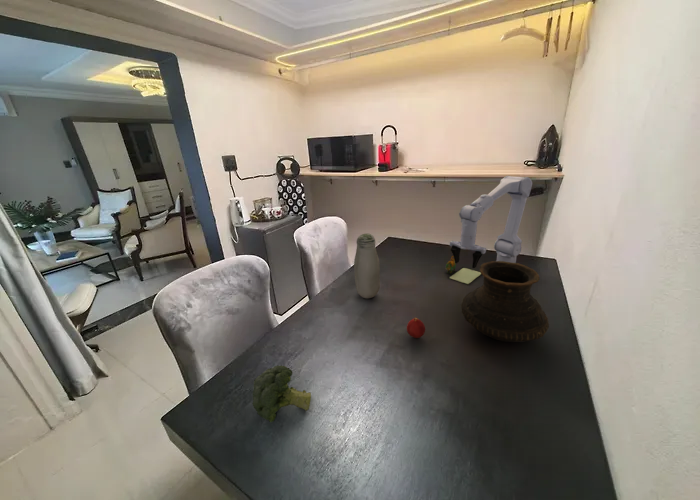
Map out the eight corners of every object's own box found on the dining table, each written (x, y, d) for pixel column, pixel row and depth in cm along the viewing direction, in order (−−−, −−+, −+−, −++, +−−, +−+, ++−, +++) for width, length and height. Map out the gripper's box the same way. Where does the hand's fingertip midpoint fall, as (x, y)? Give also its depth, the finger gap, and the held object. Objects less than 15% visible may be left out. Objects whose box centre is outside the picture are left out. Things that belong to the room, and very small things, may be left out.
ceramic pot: (447, 335, 87) (451, 275, 79) (474, 302, 103) (481, 249, 95) (533, 373, 71) (551, 302, 63) (550, 327, 87) (566, 266, 79)
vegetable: (302, 436, 58) (237, 415, 57) (298, 425, 69) (244, 407, 68) (321, 378, 63) (262, 357, 62) (315, 377, 75) (265, 359, 74)
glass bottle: (368, 305, 107) (365, 240, 97) (352, 296, 114) (347, 235, 104) (384, 295, 113) (383, 233, 102) (368, 287, 120) (365, 229, 110)
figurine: (442, 275, 126) (443, 259, 123) (454, 266, 133) (455, 251, 130) (448, 276, 124) (449, 261, 121) (460, 268, 131) (462, 253, 128)
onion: (413, 329, 91) (413, 310, 88) (428, 336, 87) (429, 316, 84) (403, 338, 88) (403, 318, 85) (418, 346, 84) (419, 325, 81)
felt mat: (463, 268, 131) (463, 267, 131) (482, 273, 125) (482, 272, 124) (449, 278, 123) (449, 277, 122) (468, 284, 116) (468, 283, 116)
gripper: (446, 234, 110) (444, 263, 115) (482, 241, 100) (478, 273, 105) (455, 229, 114) (452, 258, 119) (490, 236, 104) (485, 267, 109)
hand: (465, 264), depth 113 cm, fingers open, 7 cm apart
